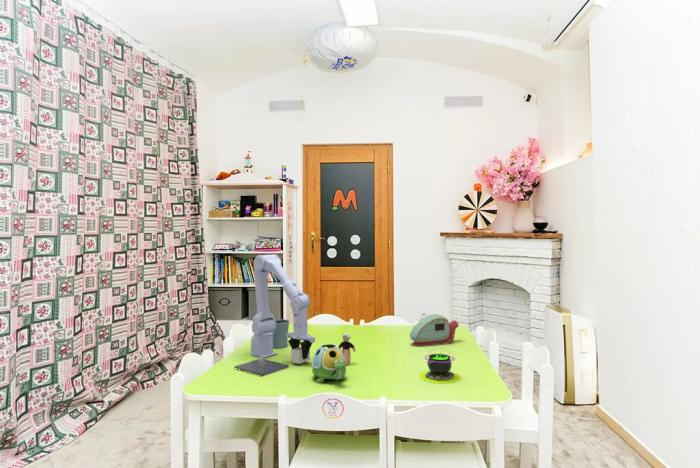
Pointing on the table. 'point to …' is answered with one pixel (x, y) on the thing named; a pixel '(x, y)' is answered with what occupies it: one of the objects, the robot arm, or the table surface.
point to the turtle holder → (329, 363)
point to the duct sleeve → (298, 356)
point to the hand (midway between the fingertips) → (300, 357)
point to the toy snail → (433, 331)
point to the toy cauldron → (439, 369)
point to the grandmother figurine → (346, 348)
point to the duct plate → (261, 366)
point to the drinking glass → (280, 334)
